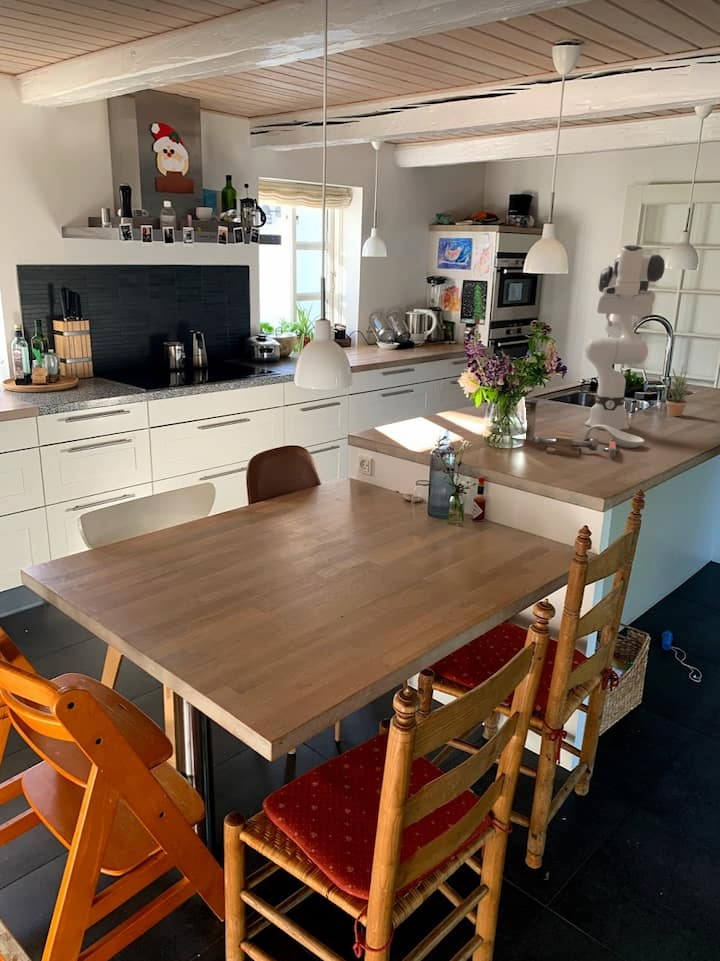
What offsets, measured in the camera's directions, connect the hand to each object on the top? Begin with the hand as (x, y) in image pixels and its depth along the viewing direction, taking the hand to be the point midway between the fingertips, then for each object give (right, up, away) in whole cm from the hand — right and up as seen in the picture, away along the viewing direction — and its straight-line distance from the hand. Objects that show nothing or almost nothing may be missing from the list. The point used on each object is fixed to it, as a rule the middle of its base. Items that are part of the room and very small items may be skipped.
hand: (622, 326), depth 293 cm
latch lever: (-5, -49, -4) cm, 50 cm away
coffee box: (-35, -43, +19) cm, 58 cm away
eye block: (-23, -48, +2) cm, 53 cm away
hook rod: (-22, -47, +1) cm, 52 cm away
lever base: (-3, -48, +4) cm, 48 cm away
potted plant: (+50, -29, +70) cm, 91 cm away
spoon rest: (+1, -45, +14) cm, 47 cm away
